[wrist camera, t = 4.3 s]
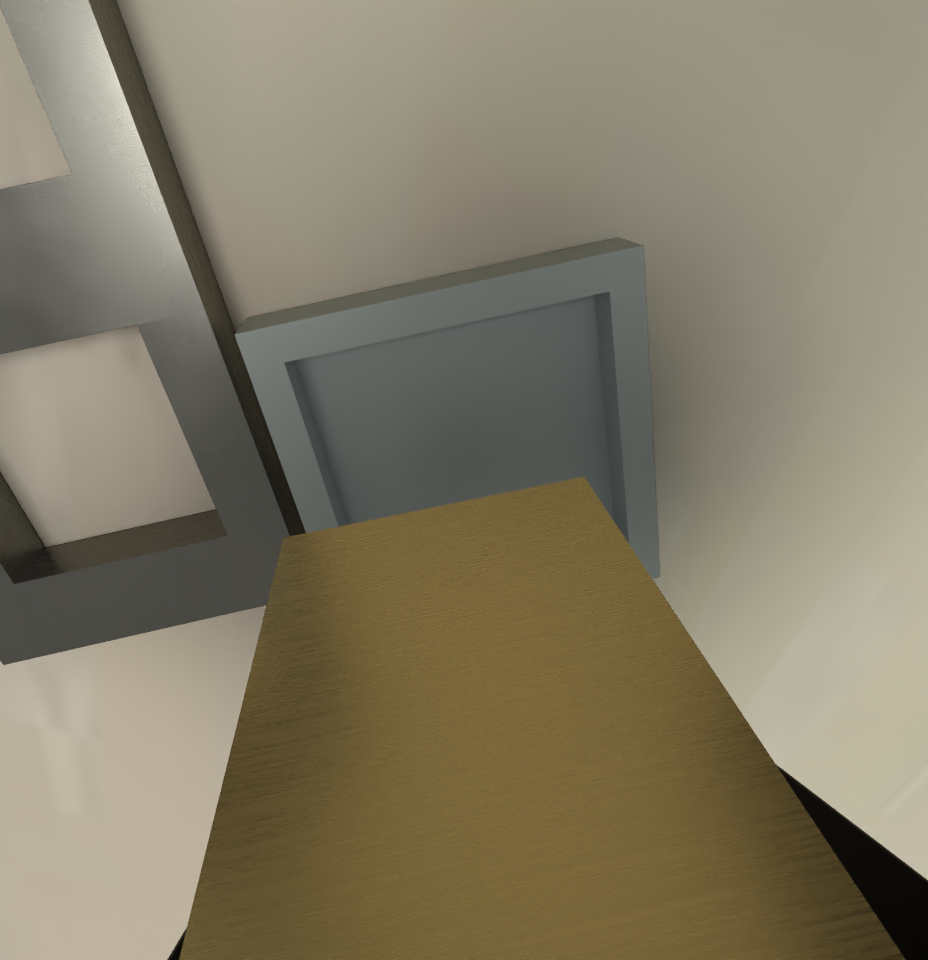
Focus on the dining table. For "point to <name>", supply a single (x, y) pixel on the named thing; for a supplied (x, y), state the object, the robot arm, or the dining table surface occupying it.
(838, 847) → the robot arm
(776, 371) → the dining table surface
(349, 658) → the tan rectangular block
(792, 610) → the dining table surface
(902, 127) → the dining table surface
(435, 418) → the tray
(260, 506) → the grey flat frame
